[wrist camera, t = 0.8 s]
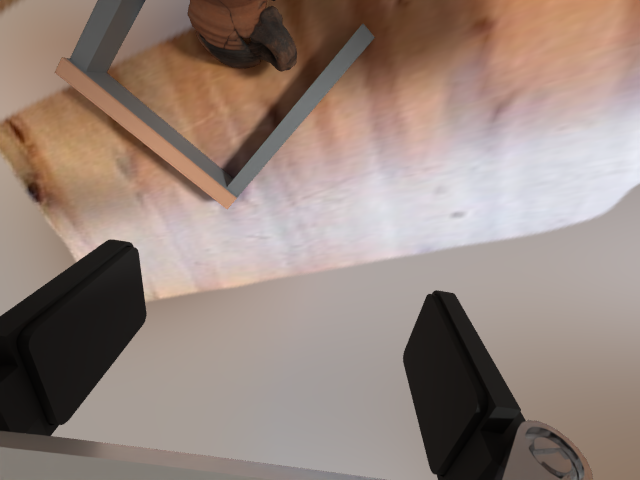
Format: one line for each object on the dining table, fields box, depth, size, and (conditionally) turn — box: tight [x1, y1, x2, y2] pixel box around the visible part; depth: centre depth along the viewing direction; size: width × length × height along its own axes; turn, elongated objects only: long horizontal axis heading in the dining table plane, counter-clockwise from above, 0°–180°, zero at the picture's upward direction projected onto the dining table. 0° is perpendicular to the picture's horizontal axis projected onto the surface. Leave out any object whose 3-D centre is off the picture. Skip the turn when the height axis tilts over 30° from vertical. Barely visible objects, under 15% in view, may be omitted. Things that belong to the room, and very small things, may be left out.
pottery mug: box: [188, 0, 297, 71], centre depth 26 cm, size 12×10×8 cm
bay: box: [55, 0, 375, 209], centre depth 28 cm, size 22×19×4 cm
